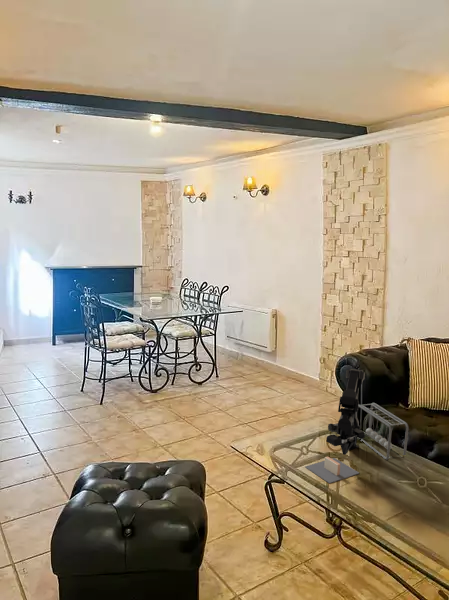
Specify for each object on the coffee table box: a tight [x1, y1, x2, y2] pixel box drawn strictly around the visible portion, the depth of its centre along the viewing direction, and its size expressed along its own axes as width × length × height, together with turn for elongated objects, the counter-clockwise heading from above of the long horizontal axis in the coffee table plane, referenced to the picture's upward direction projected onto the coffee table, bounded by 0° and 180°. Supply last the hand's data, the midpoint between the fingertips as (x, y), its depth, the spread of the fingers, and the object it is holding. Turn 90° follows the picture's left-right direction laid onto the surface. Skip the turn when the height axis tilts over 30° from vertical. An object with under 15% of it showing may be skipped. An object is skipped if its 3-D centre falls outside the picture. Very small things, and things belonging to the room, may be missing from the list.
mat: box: [304, 457, 360, 484], centre depth 232 cm, size 18×16×1 cm
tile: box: [324, 456, 340, 475], centre depth 231 cm, size 2×8×5 cm, turn 31°
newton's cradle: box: [356, 402, 409, 461], centre depth 257 cm, size 30×10×18 cm, turn 18°
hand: (344, 454), depth 234 cm, fingers closed
